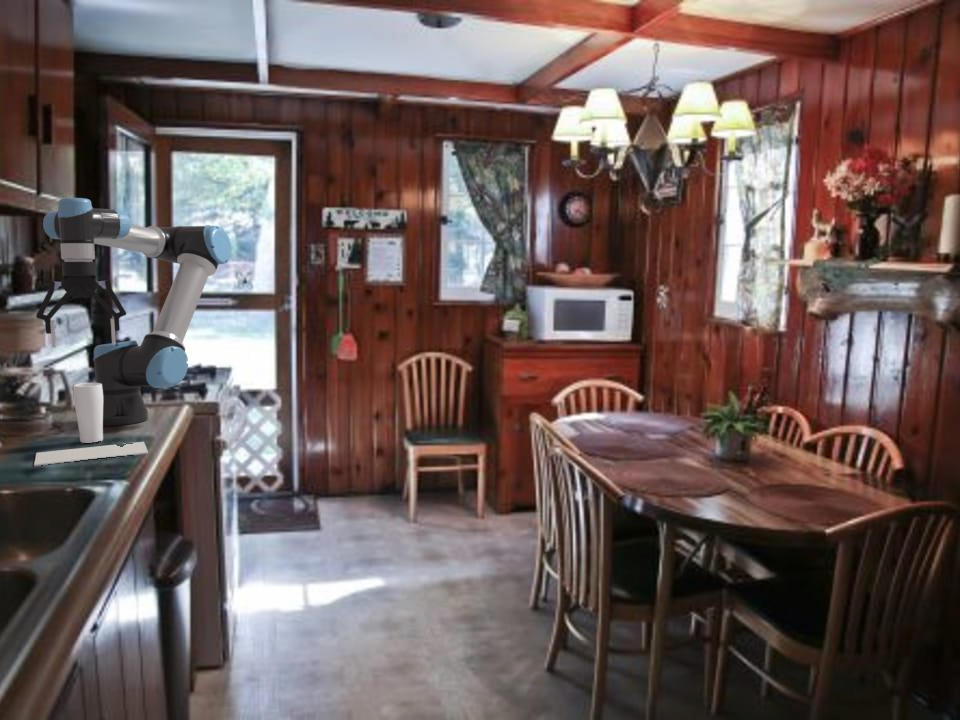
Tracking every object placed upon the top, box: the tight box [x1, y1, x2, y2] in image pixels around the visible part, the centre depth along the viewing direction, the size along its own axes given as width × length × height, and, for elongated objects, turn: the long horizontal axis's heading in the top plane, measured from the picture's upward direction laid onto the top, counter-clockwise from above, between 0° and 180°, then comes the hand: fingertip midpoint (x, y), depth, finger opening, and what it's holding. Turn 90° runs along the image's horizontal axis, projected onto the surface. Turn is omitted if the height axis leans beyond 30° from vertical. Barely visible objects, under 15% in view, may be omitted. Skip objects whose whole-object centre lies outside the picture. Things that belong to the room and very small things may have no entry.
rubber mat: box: [33, 441, 149, 467], centre depth 190 cm, size 24×13×1 cm, turn 117°
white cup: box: [72, 382, 104, 444], centre depth 202 cm, size 7×7×15 cm
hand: (84, 345), depth 200 cm, fingers open, 13 cm apart
